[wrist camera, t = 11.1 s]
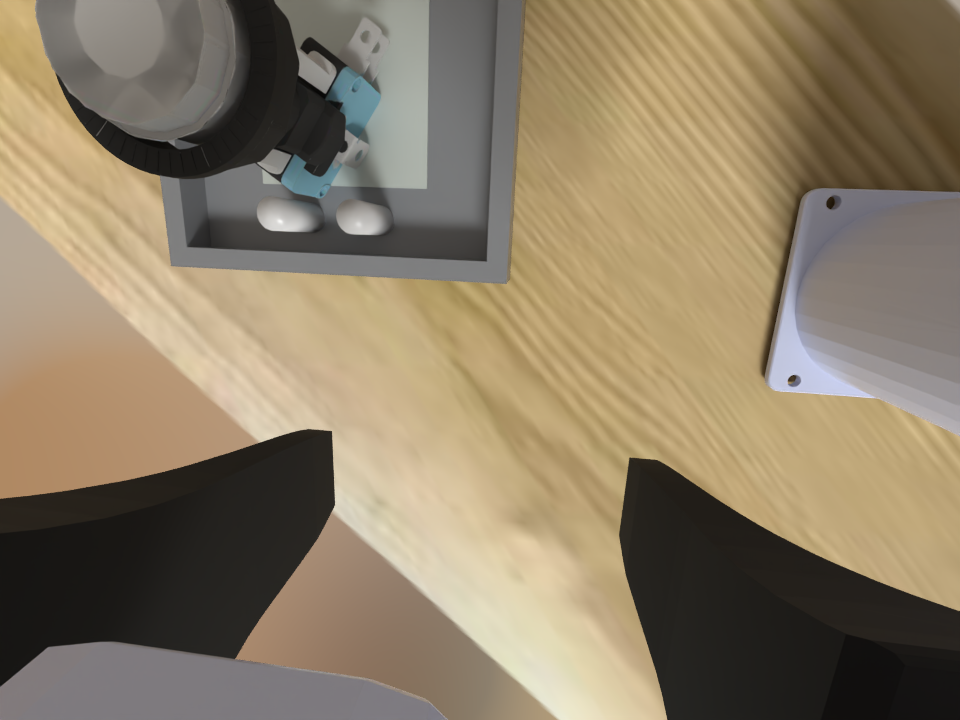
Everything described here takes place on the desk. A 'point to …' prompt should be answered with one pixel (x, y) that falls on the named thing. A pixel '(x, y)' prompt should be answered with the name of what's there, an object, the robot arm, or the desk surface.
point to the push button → (213, 87)
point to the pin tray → (384, 158)
